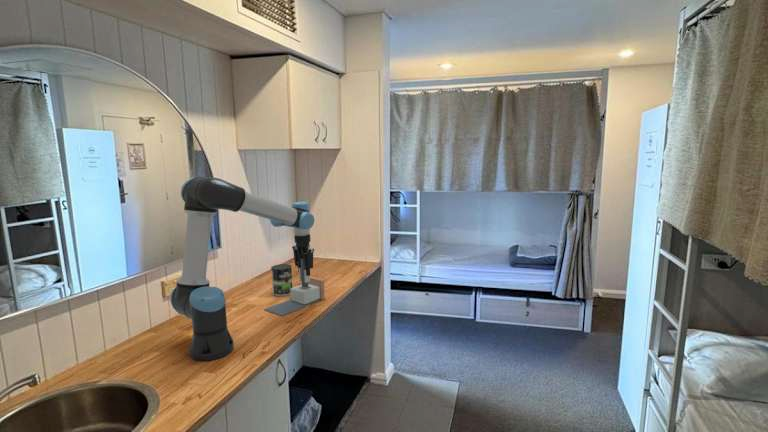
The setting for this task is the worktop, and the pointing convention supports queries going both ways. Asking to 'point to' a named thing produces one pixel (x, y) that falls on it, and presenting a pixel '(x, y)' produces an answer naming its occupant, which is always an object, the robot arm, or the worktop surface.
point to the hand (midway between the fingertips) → (304, 281)
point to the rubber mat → (288, 307)
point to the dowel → (303, 273)
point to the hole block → (305, 294)
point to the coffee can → (281, 279)
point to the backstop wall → (318, 283)
